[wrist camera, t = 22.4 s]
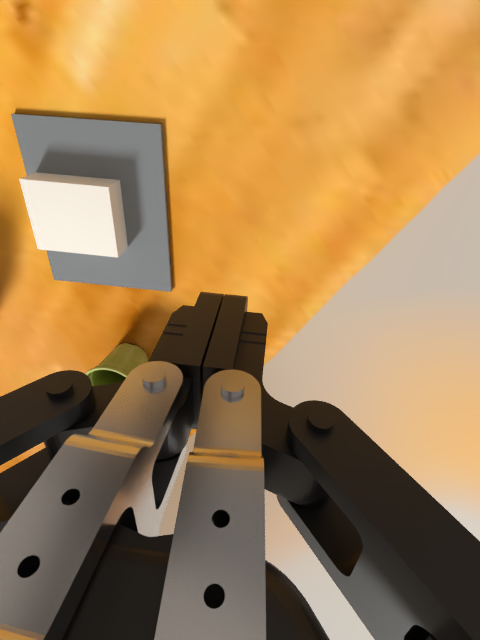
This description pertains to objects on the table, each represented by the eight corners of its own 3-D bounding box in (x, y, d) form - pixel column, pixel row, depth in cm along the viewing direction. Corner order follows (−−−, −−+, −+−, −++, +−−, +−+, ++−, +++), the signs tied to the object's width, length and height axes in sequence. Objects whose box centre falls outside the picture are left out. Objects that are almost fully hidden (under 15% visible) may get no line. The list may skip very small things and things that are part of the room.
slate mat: (14, 113, 44) (11, 113, 44) (161, 123, 43) (160, 124, 43) (56, 277, 57) (54, 279, 56) (172, 289, 55) (171, 291, 55)
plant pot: (93, 347, 64) (67, 382, 57) (132, 325, 60) (110, 359, 53) (129, 383, 68) (110, 420, 60) (168, 364, 64) (153, 401, 57)
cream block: (119, 179, 47) (35, 172, 47) (108, 187, 44) (19, 178, 44) (127, 247, 52) (51, 239, 52) (118, 257, 49) (37, 249, 50)
